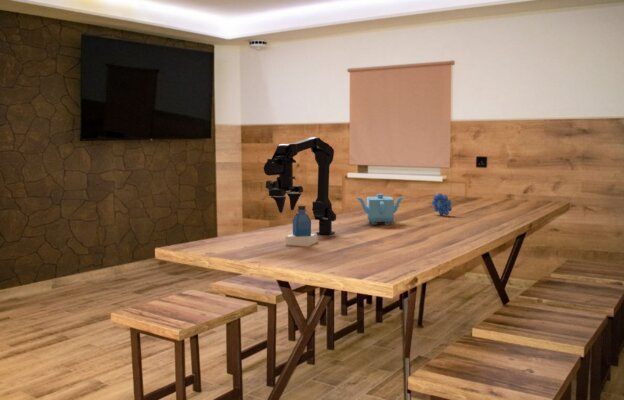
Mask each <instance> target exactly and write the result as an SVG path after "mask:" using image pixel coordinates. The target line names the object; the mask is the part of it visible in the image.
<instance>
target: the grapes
mask: <svg viewBox="0 0 624 400" xmlns="http://www.w3.org/2000/svg"><path fill="white" fill-rule="evenodd" d="M432 198H433V200H432V201H431V205H433V206H434V207H433V210H434V212H437V213H438V214H439V215H440V216H443V215H445V216H448V215H449V213H450V212H451V211H452V210H453V207H452V204H453V202H452V201H451V200H449V197H448V196H447V195H445V194H442V193H440V192H439V193H437V195H436V194H435V195H434V196H433V197H432Z"/></svg>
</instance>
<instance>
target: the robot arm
mask: <svg viewBox="0 0 624 400" xmlns="http://www.w3.org/2000/svg"><path fill="white" fill-rule="evenodd" d="M305 150H310V151H311V152H312V153H313V154H314V160H315V162H316V164H317V169H318V170H317V197H316V199H315V201H312V209H311V210H312V214H313V217H314V220H315V221H318V231H317V232H315V234H317V235H325V236H328V235H329V236H330V235H333V234H335V233H336V232H335V231H333V229H332V226H333V225H332V224H333V223H332V222H335V221H336V220H337V215H336V213H335V211H334V210H333V206H332V202H331V200H330V198H329V192H330V190H329V188H330V166H331V164H332V163H333V161H334V156H335V150H334V148H333V147H332V145H329V143H327V142H325V141H324V140H322V139H321V138H320V137H318V136H310V137H308V138H305V139H303V140H298V141H296V142H292V143H279V144H278V145H277V146H276V149H275V151H274V152H273V155H272V157H271V158H267V159H266V160H267V161H266V162H265V163H264V167H263V172H264V174H265V175H266V176H268V177H269V176H271V177H272V176H277V177H276V180H274V181H272V180H267V181H265V189H267V190H268V197H270V198H272V199H273V200H274V201H275V203H276V206H277V209H278V212H279V213H280V214H282V213H283V211H284V208H285V203H286V199H287V196H288V199H289V205H290V206H289V207H290V211H294V210H295V208H296V206H297V203H298V201H299V199H300V197H301V195H302V193H304V188H303V186H302V185H294V180H295V179H296V176H294V175H293V174H294V167H293V166H294V163H295V164H296V163H297V161H296V160H295V156H297V155H298V154H299V153H300V152H303V151H305ZM286 195H287V196H286Z"/></svg>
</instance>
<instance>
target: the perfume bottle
mask: <svg viewBox="0 0 624 400" xmlns="http://www.w3.org/2000/svg"><path fill="white" fill-rule="evenodd" d="M297 207H298V208H297V213H295V215H294V216H293V219H292V234H293V235H295V236H296V237H298V236H311V233H312V219H311V218H310V217H309V215H308V213H306V212H307V208H306V205H298V206H297Z"/></svg>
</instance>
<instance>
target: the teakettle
mask: <svg viewBox="0 0 624 400" xmlns="http://www.w3.org/2000/svg"><path fill="white" fill-rule="evenodd" d="M405 198H406V197H405V196H404V197H402V196H401V197H398V198H397V199H396V201H395V199H394V198H393V197H391V196H384V193H377V194H376V196H367V199H366V200H367V203H365V200H364V198H362V197H355V200H356V199H357V200H358V201H359V202H360V204H361V207H362V210H363V212H364V213H365V214H367V219H368V221H369V223H370V226H371V225H372V226H373V225H374V226H375V225H377V224H378V223H379V222H381V223H384V224H385V225H387V226H389V225H392V223H391V222H395V218H394V217H395V213H396V212H397V211H398V210H399V207H400V203H401V201H402V200H403V199H405ZM366 204H367V205H366Z"/></svg>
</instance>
